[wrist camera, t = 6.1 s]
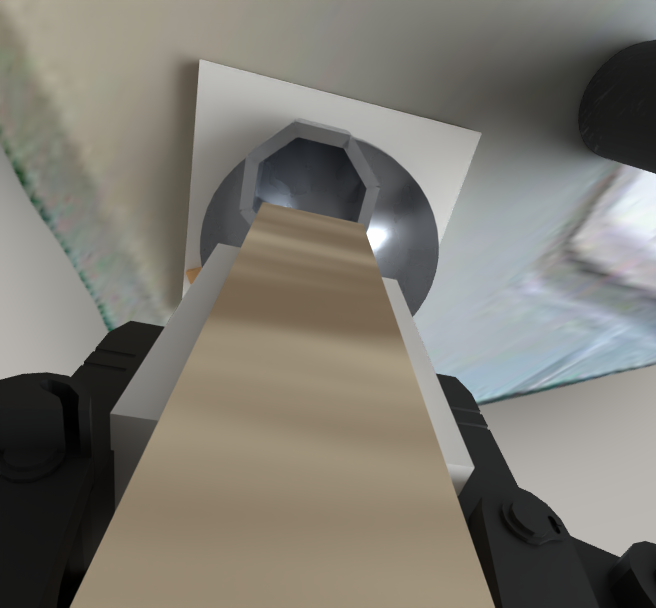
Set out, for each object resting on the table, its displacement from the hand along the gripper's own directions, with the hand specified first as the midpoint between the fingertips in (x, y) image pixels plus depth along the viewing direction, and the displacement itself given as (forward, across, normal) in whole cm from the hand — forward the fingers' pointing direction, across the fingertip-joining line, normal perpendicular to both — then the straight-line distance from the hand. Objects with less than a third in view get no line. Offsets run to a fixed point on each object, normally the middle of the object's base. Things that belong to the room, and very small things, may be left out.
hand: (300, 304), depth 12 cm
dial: (+17, +2, -4) cm, 18 cm away
